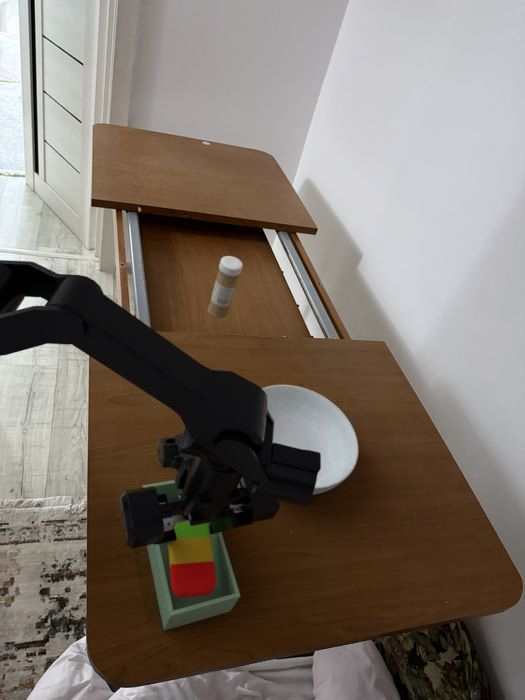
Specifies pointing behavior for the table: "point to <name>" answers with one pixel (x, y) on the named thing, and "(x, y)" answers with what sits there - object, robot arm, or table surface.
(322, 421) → the serving bowl
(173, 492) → the bin
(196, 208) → the table surface
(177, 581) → the popsicle
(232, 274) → the sprinkles bottle
